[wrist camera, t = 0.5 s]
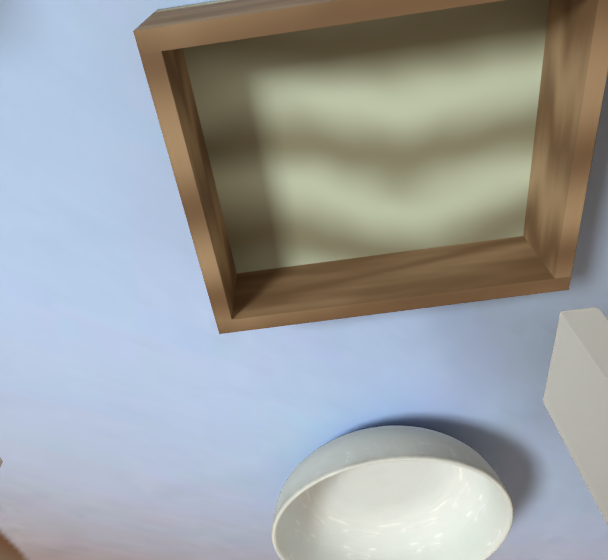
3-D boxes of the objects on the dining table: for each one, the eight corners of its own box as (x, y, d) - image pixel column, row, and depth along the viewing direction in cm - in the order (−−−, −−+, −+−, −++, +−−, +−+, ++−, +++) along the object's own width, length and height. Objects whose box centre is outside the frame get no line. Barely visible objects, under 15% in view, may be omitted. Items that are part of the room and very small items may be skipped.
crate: (157, 9, 30) (133, 31, 25) (567, -53, 29) (628, -44, 24) (226, 280, 40) (219, 333, 35) (531, 240, 39) (568, 289, 34)
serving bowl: (229, 445, 51) (223, 514, 45) (443, 357, 45) (466, 423, 40) (333, 549, 61) (339, 615, 56) (515, 488, 56) (542, 554, 50)
